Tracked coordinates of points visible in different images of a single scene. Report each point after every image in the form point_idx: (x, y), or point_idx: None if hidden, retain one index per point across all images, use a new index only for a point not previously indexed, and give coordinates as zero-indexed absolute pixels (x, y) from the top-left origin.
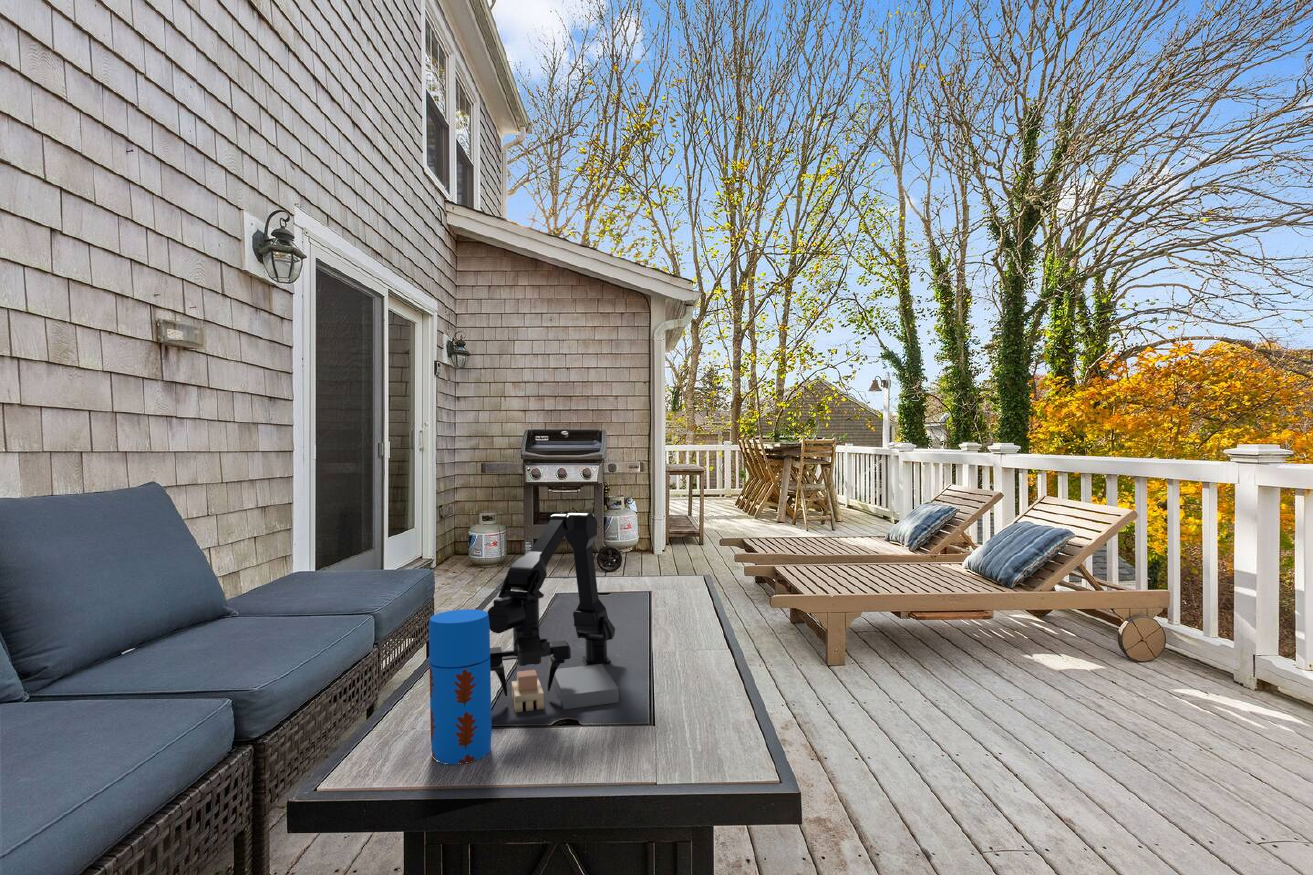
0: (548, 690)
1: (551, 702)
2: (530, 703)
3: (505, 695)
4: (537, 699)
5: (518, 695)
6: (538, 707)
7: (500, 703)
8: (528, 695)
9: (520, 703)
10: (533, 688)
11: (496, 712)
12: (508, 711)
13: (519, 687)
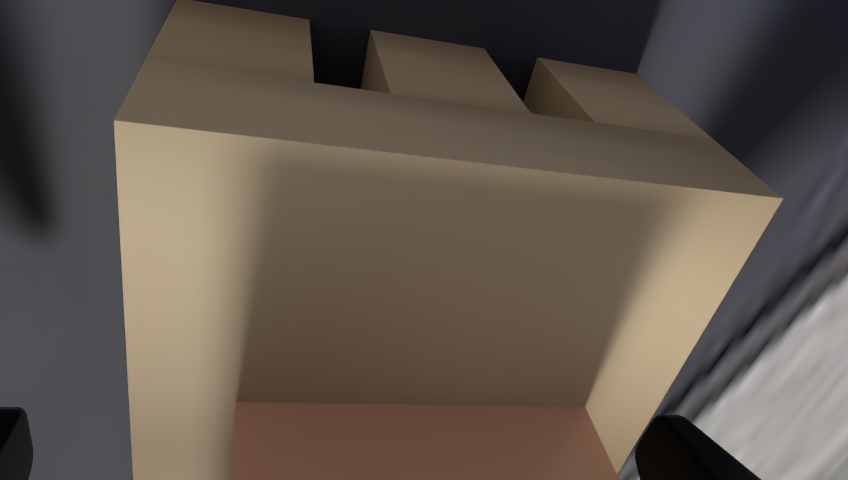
0: (9, 408)
1: (15, 202)
2: (437, 77)
3: (682, 418)
4: (295, 86)
5: (698, 227)
6: (279, 25)
7: None
8: (512, 164)
9: (615, 118)
10: (315, 419)
11: (812, 180)
12: None
13: (596, 461)
